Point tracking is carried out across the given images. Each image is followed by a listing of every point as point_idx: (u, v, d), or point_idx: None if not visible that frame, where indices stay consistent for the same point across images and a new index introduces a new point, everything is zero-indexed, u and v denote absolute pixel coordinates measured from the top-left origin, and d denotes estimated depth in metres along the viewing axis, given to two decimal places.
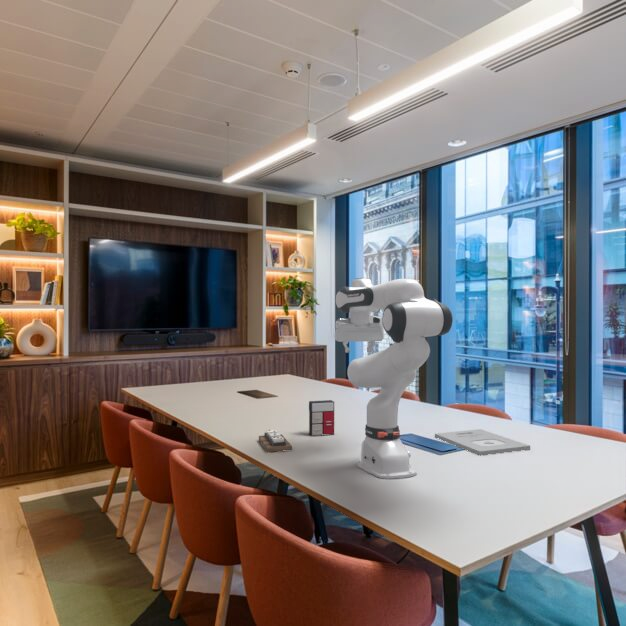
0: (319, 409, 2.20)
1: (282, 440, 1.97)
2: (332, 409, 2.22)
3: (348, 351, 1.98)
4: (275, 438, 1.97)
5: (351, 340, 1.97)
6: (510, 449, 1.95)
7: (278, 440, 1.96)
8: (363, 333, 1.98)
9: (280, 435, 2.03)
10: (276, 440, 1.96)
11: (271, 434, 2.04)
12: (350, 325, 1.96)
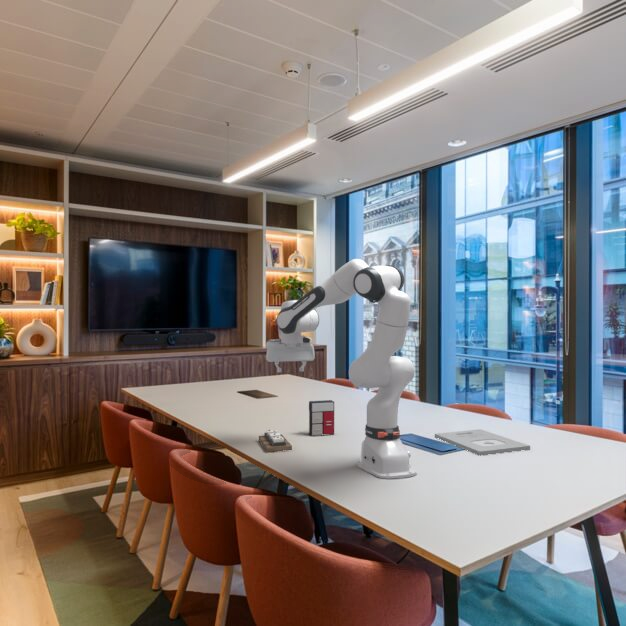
0: (319, 409, 2.20)
1: (282, 440, 1.97)
2: (332, 409, 2.22)
3: (279, 371, 2.04)
4: (275, 438, 1.97)
5: (282, 360, 2.03)
6: (510, 449, 1.95)
7: (278, 440, 1.96)
8: (294, 353, 2.04)
9: (280, 435, 2.03)
10: (276, 440, 1.96)
11: (271, 434, 2.04)
12: (280, 345, 2.03)
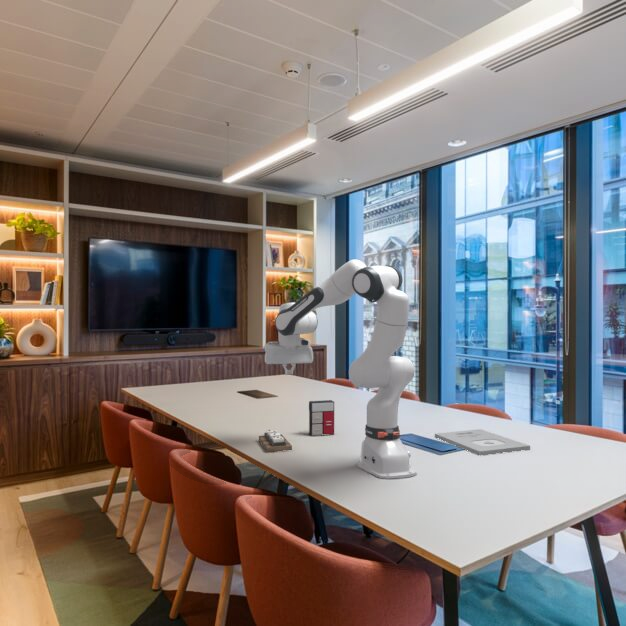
0: (319, 409, 2.20)
1: (282, 440, 1.97)
2: (332, 409, 2.22)
3: (287, 373, 2.05)
4: (275, 438, 1.97)
5: (280, 362, 2.03)
6: (510, 449, 1.95)
7: (278, 440, 1.96)
8: (292, 355, 2.04)
9: (280, 435, 2.03)
10: (276, 440, 1.96)
11: (271, 434, 2.04)
12: (279, 348, 2.03)
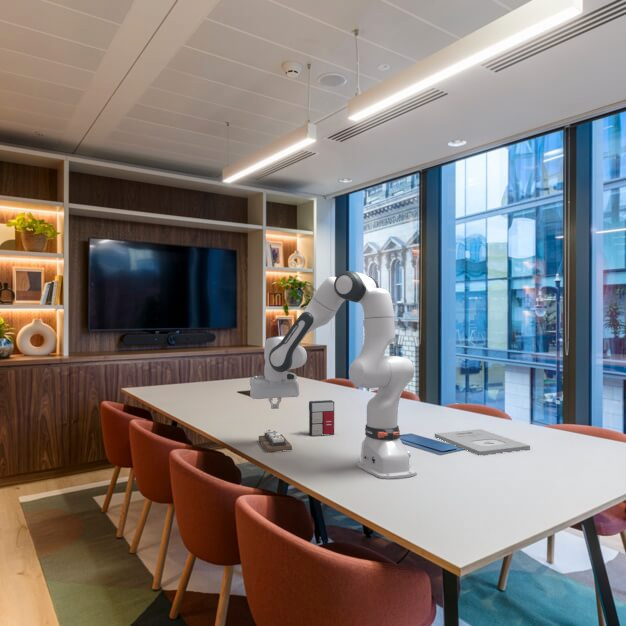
0: (319, 409, 2.20)
1: (282, 440, 1.97)
2: (332, 409, 2.22)
3: (273, 408, 2.03)
4: (275, 438, 1.97)
5: (266, 397, 2.01)
6: (510, 449, 1.95)
7: (278, 440, 1.96)
8: (278, 389, 2.03)
9: (280, 435, 2.03)
10: (276, 440, 1.96)
11: (271, 434, 2.04)
12: (264, 382, 2.01)
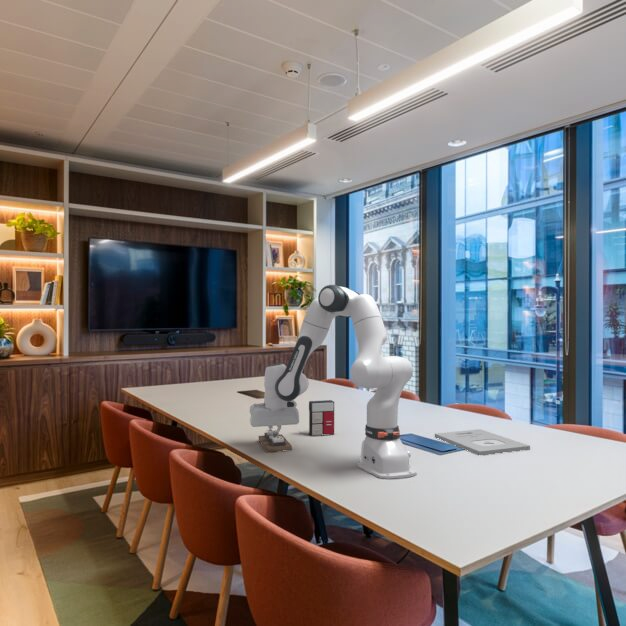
0: (319, 409, 2.20)
1: (282, 440, 1.97)
2: (332, 409, 2.22)
3: (273, 435, 2.03)
4: (275, 438, 1.97)
5: (266, 425, 2.02)
6: (510, 449, 1.95)
7: (278, 440, 1.96)
8: (278, 417, 2.03)
9: None
10: (276, 440, 1.96)
11: (271, 436, 2.04)
12: (264, 410, 2.01)
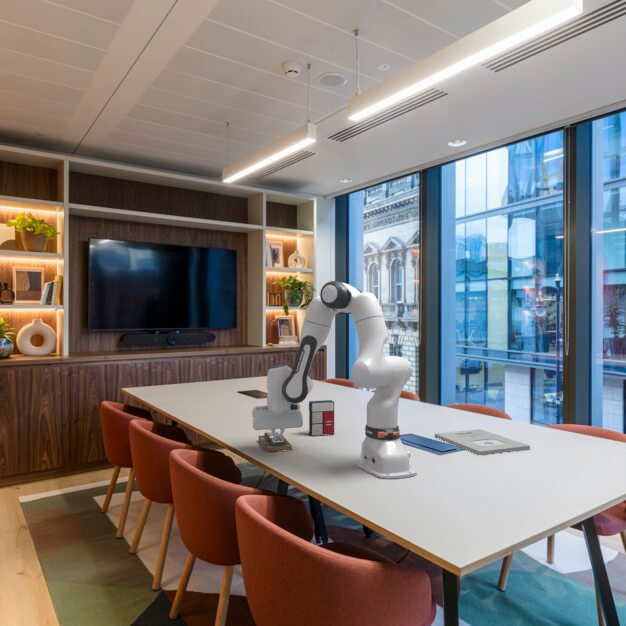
0: (319, 409, 2.20)
1: None
2: (332, 409, 2.22)
3: (276, 439, 1.97)
4: (275, 440, 1.97)
5: (269, 428, 1.96)
6: (510, 449, 1.95)
7: None
8: (281, 420, 1.97)
9: None
10: None
11: (271, 436, 2.04)
12: (267, 413, 1.95)
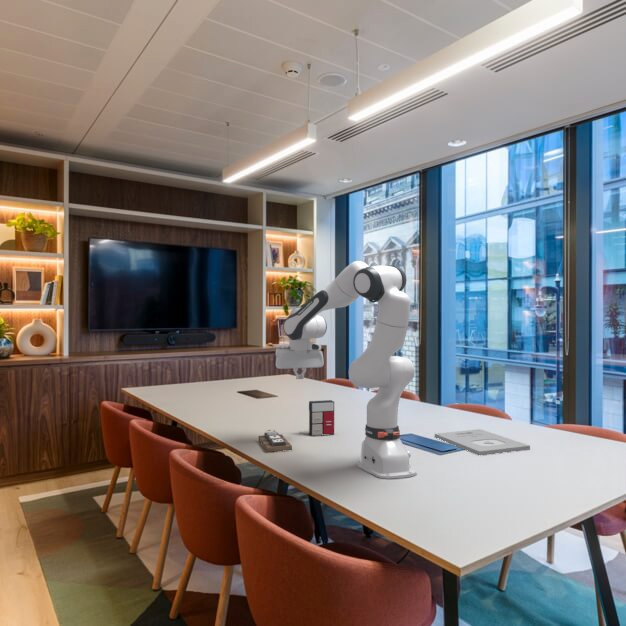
0: (319, 409, 2.20)
1: None
2: (332, 409, 2.22)
3: (298, 378, 2.06)
4: (275, 441, 1.97)
5: (291, 367, 2.04)
6: (510, 449, 1.95)
7: None
8: (303, 359, 2.06)
9: None
10: None
11: (271, 436, 2.04)
12: (290, 352, 2.04)
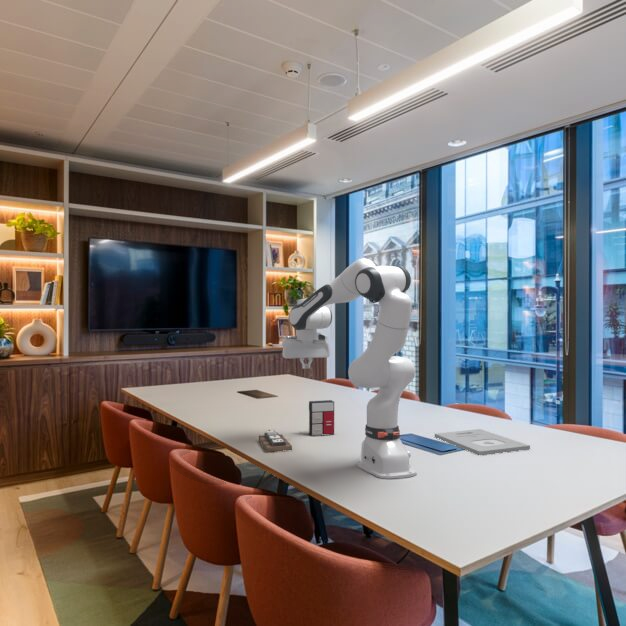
0: (319, 409, 2.20)
1: None
2: (332, 409, 2.22)
3: (304, 367, 2.09)
4: (275, 441, 1.97)
5: (298, 357, 2.07)
6: (510, 449, 1.95)
7: None
8: (310, 349, 2.08)
9: None
10: None
11: (271, 436, 2.04)
12: (296, 342, 2.07)
